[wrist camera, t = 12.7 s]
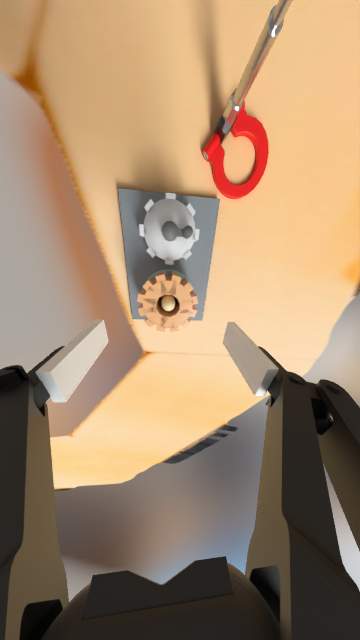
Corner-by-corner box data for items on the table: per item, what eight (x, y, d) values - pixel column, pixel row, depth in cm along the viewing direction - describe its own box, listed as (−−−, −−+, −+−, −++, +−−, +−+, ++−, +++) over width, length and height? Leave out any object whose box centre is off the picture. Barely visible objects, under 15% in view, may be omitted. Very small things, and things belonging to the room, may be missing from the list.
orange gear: (145, 317, 29) (139, 331, 24) (142, 269, 25) (134, 272, 19) (190, 318, 30) (194, 332, 25) (194, 272, 26) (201, 276, 20)
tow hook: (273, 163, 21) (240, 94, 17) (401, 61, 10) (381, -198, 6) (232, 212, 23) (196, 160, 20) (296, 177, 12) (238, 40, 9)
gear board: (120, 191, 21) (97, 161, 14) (217, 201, 22) (237, 178, 16) (133, 317, 30) (123, 333, 24) (201, 318, 32) (209, 334, 25)
